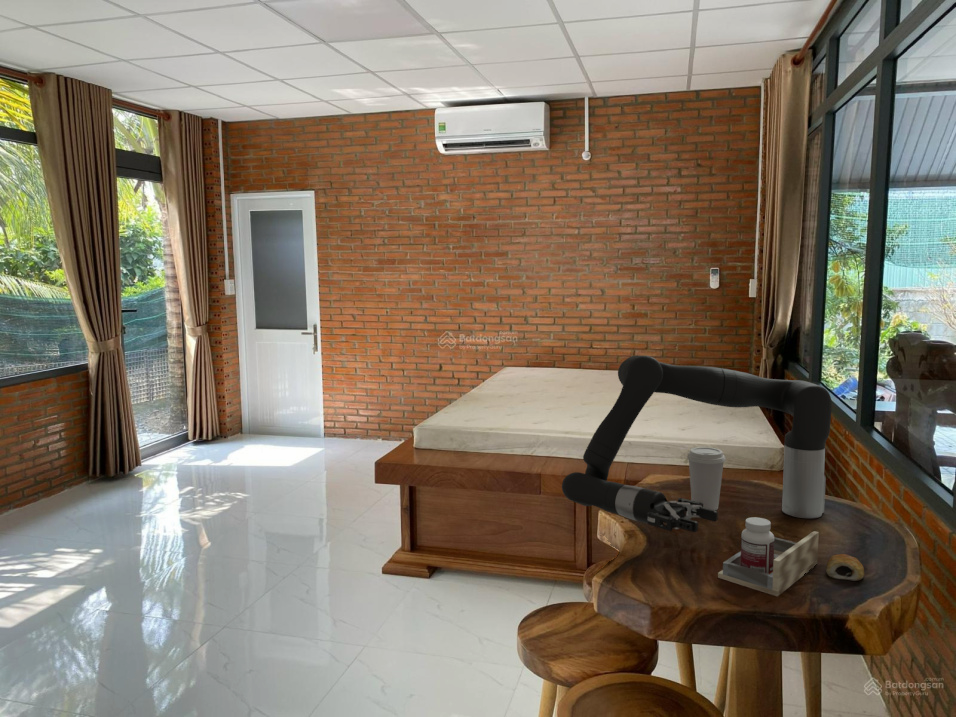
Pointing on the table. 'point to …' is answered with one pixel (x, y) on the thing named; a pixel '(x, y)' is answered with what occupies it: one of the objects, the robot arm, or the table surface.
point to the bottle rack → (776, 566)
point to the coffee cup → (706, 475)
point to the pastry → (845, 567)
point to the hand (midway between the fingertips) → (707, 521)
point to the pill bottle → (757, 545)
